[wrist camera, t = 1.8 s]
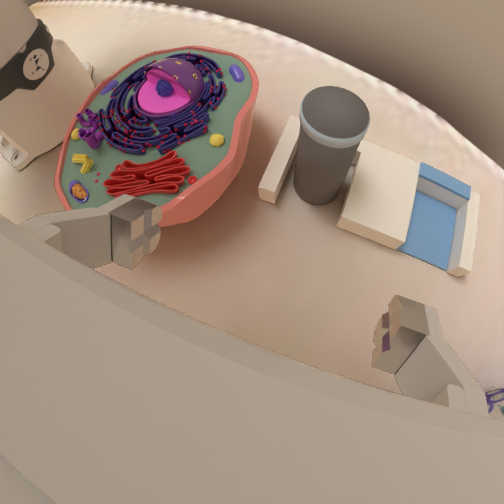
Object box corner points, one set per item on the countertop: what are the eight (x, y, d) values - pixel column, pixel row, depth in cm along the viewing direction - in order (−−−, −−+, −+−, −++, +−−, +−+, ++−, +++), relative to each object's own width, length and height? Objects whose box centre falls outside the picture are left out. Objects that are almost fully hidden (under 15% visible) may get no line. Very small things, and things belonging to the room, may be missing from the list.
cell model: (67, 202, 31) (5, 154, 20) (180, 78, 34) (156, 8, 23) (172, 296, 27) (113, 271, 17) (299, 136, 31) (307, 54, 20)
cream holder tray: (259, 198, 29) (257, 184, 26) (289, 129, 31) (290, 112, 28) (457, 277, 26) (473, 271, 23) (468, 203, 28) (481, 192, 25)
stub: (285, 195, 29) (291, 123, 18) (301, 156, 30) (312, 77, 19) (333, 213, 28) (363, 148, 18) (346, 172, 29) (375, 99, 19)
